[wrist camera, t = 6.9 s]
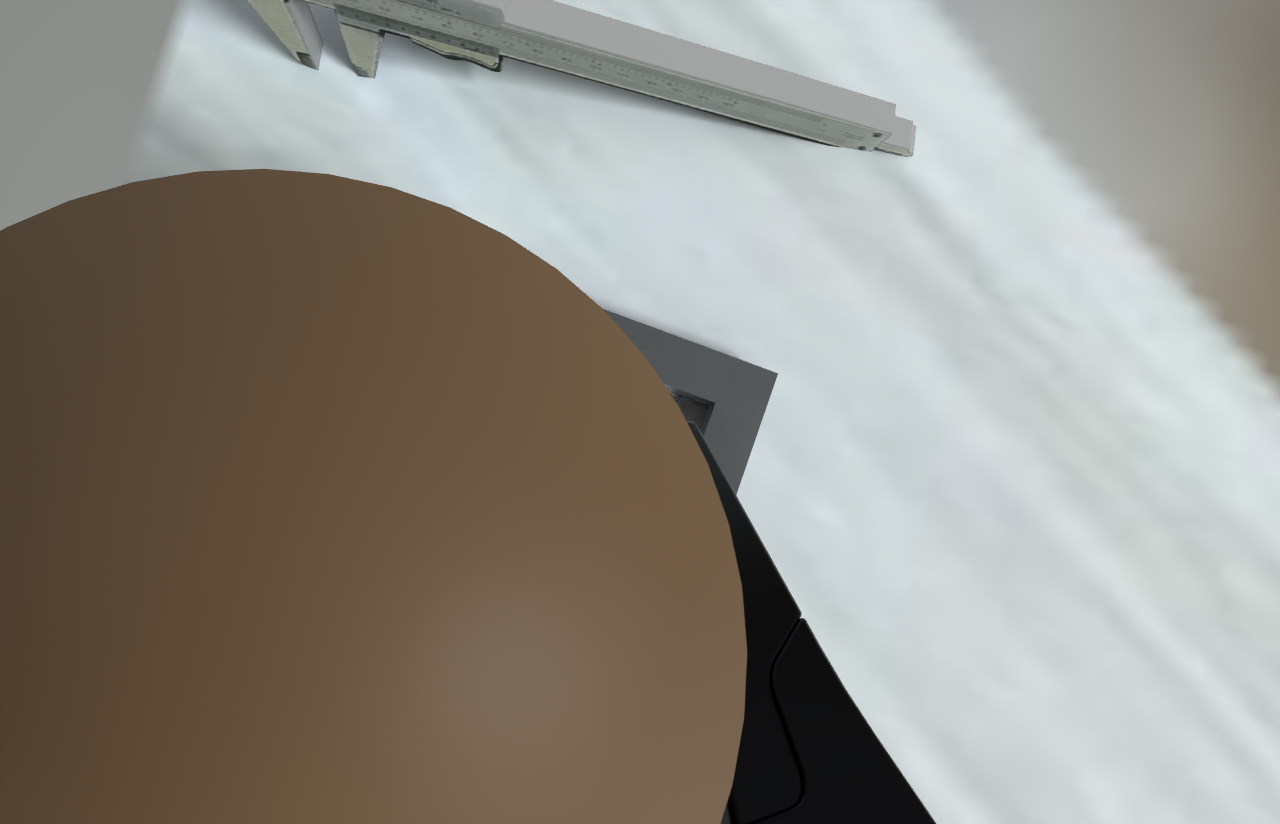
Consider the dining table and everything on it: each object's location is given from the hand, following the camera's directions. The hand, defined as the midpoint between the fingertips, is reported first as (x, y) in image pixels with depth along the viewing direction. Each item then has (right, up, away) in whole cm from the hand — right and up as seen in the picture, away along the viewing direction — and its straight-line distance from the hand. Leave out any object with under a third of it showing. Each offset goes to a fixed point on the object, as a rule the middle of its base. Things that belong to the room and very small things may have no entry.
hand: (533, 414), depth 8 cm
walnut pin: (-1, -2, +7) cm, 7 cm away
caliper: (+1, +11, +10) cm, 15 cm away
